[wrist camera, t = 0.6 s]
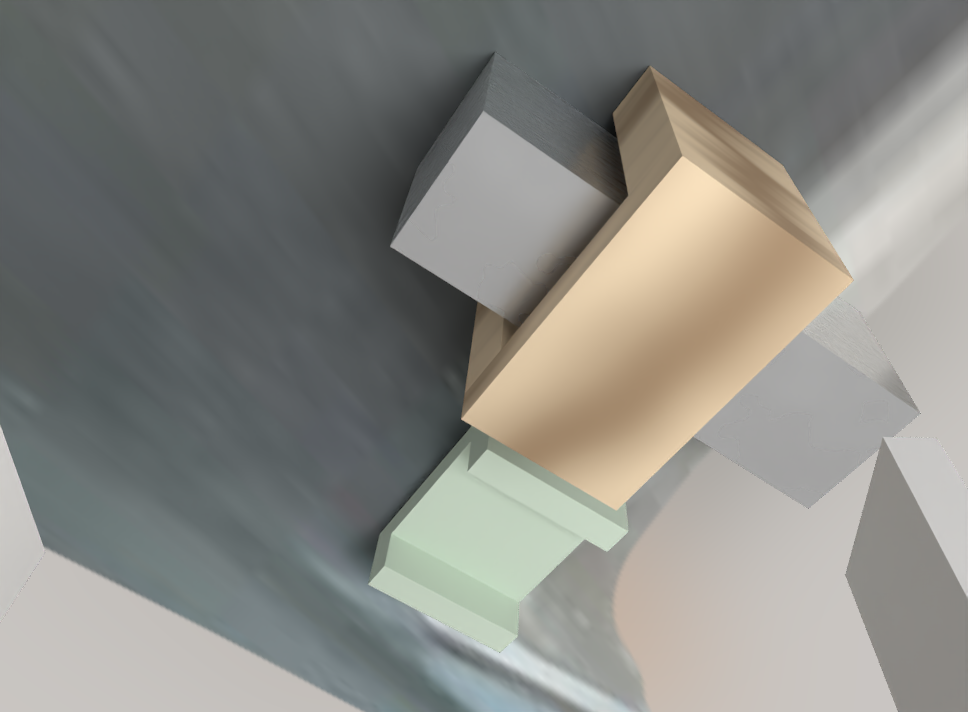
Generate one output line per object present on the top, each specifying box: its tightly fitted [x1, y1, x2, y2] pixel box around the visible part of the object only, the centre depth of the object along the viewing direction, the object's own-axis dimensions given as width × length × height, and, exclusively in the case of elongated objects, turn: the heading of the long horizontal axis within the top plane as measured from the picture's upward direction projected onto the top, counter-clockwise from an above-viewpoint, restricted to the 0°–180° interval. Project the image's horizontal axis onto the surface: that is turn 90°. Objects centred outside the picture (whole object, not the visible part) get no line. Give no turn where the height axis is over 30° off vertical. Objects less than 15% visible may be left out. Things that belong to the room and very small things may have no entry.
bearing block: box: [461, 66, 854, 511], centre depth 30 cm, size 6×10×9 cm, turn 146°
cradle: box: [368, 426, 629, 653], centre depth 40 cm, size 7×9×3 cm
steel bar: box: [390, 52, 921, 509], centre depth 32 cm, size 17×5×7 cm, turn 56°
